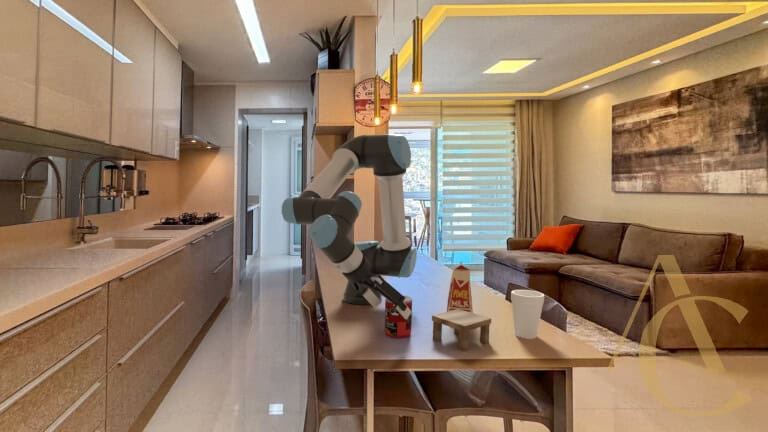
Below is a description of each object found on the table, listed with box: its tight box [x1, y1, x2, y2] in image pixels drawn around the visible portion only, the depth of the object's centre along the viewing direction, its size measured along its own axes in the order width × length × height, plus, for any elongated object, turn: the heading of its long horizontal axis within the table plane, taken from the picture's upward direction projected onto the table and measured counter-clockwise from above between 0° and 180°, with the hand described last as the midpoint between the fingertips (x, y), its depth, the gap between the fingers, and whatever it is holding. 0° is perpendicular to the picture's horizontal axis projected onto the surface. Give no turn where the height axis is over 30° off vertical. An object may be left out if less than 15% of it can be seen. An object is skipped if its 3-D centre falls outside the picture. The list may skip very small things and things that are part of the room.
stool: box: [431, 309, 492, 352], centre depth 120 cm, size 12×12×7 cm
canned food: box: [384, 295, 413, 339], centre depth 124 cm, size 8×8×11 cm
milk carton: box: [446, 261, 474, 313], centre depth 143 cm, size 9×9×20 cm
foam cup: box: [510, 289, 545, 340], centre depth 126 cm, size 10×9×13 cm
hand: (392, 309), depth 121 cm, fingers open, 13 cm apart
